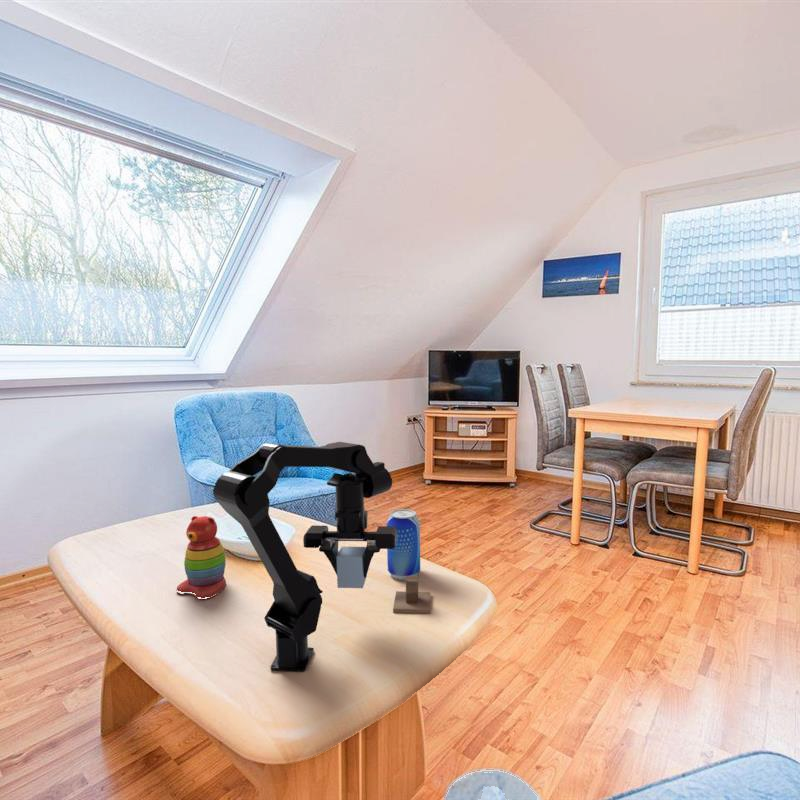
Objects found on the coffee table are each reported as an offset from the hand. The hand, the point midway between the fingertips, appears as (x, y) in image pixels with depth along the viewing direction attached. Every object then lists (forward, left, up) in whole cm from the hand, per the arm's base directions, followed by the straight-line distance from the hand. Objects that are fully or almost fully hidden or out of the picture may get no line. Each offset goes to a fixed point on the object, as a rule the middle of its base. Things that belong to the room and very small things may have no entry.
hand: (352, 576), depth 103 cm
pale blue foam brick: (0, 0, -1) cm, 1 cm away
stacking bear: (+14, +39, -11) cm, 43 cm away
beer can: (+24, -9, -11) cm, 28 cm away
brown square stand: (+9, -12, -10) cm, 18 cm away
